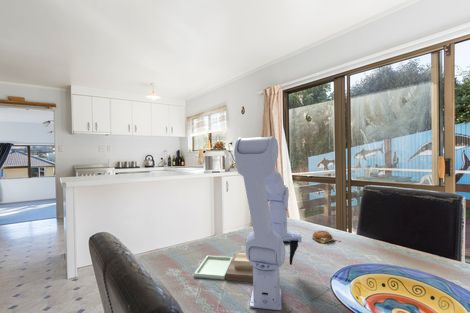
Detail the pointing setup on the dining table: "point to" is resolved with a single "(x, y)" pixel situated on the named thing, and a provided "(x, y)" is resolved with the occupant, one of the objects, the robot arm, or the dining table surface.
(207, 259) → the green tray
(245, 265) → the oak tile
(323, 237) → the hamburger
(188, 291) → the dining table surface
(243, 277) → the walnut board
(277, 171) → the robot arm
